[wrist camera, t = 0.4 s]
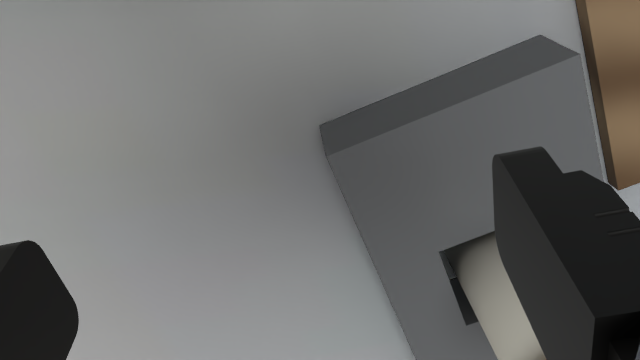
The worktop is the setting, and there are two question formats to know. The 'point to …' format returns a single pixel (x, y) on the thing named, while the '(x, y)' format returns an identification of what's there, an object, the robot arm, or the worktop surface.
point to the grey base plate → (453, 175)
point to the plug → (494, 299)
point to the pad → (615, 82)
